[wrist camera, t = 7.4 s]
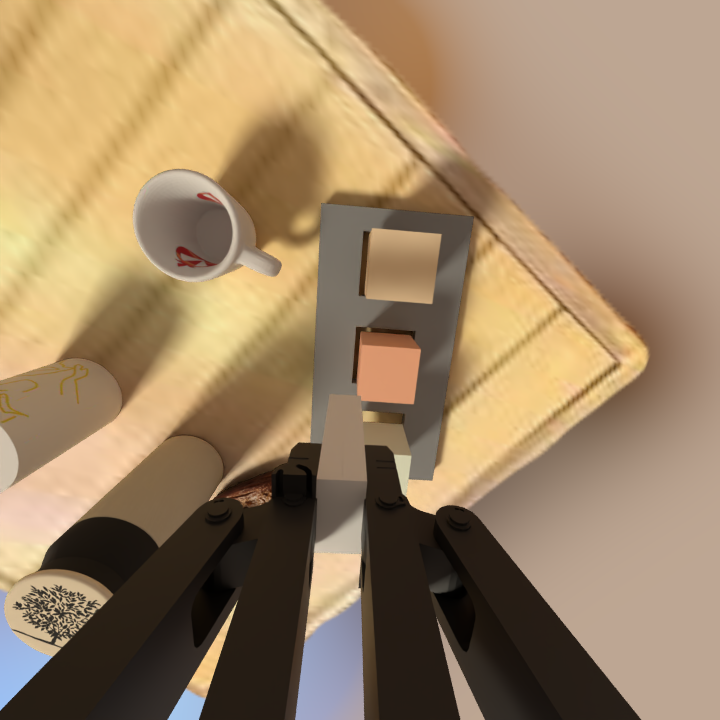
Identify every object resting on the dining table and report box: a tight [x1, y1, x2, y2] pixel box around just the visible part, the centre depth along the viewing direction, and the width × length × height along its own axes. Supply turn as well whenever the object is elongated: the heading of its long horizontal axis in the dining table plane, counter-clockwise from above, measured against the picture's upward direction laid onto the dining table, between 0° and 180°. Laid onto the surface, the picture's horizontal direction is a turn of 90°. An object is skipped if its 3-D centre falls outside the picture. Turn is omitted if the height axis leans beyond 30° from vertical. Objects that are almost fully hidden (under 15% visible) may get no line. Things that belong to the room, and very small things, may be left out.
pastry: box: [214, 471, 273, 509], centre depth 39 cm, size 11×12×6 cm
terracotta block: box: [357, 331, 421, 404], centre depth 32 cm, size 5×5×6 cm
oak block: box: [364, 228, 442, 304], centre depth 28 cm, size 5×5×6 cm
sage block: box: [363, 422, 412, 496], centre depth 33 cm, size 5×5×6 cm
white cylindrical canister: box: [0, 358, 122, 493], centre depth 31 cm, size 8×8×12 cm
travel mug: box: [4, 435, 223, 656], centre depth 31 cm, size 8×8×18 cm
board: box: [310, 203, 474, 481], centre depth 36 cm, size 28×14×2 cm, turn 175°
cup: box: [133, 169, 282, 282], centre depth 29 cm, size 11×8×8 cm
